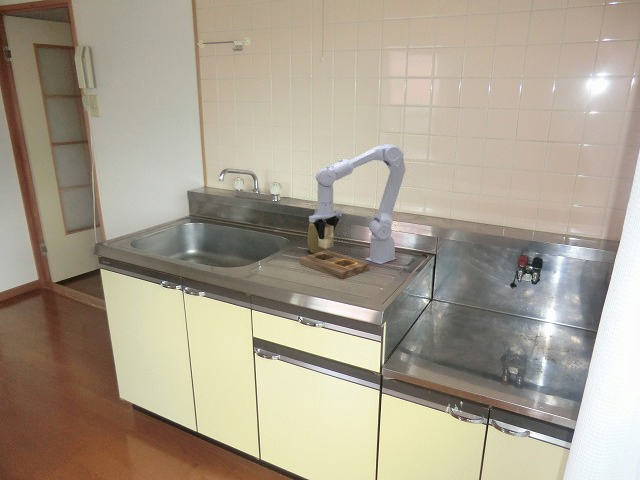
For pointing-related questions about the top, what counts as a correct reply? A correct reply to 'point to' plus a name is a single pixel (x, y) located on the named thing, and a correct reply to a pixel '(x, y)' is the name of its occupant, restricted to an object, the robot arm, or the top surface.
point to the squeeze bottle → (313, 238)
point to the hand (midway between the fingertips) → (326, 237)
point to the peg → (327, 238)
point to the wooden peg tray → (335, 264)
